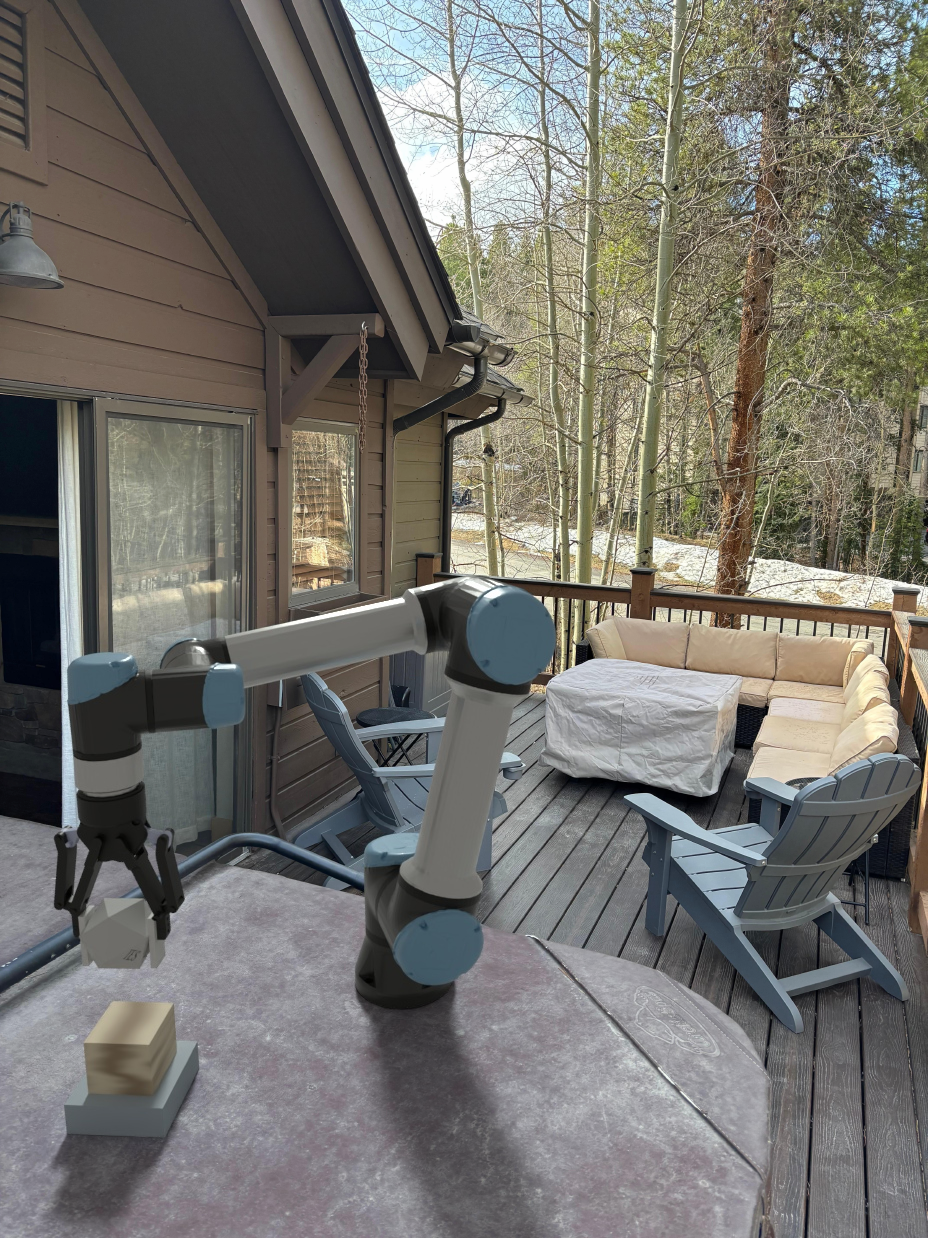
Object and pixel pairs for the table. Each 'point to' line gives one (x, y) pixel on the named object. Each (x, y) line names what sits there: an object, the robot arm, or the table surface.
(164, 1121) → the plinth
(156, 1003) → the maple block
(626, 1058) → the table surface
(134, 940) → the die
